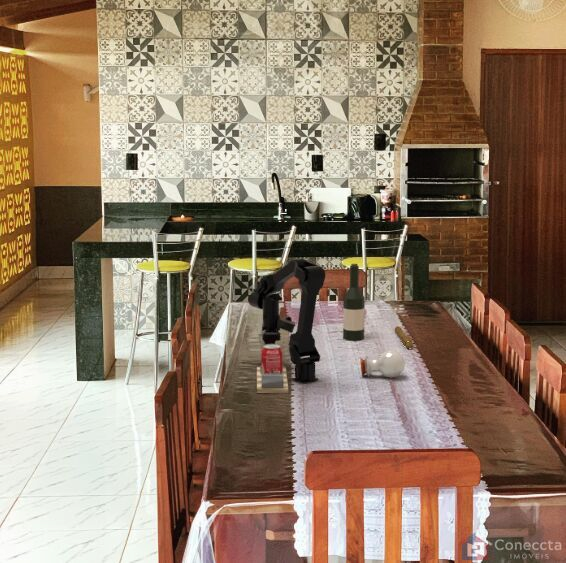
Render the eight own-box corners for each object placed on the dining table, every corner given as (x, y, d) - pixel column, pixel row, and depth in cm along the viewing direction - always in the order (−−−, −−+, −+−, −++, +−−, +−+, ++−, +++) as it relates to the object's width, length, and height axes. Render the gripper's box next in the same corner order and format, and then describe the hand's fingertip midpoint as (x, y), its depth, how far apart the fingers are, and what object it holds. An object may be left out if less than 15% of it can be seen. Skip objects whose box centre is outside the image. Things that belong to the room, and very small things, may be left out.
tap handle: (401, 325, 405) (414, 342, 376) (401, 333, 406) (413, 350, 376) (394, 325, 405) (406, 342, 375) (394, 333, 406) (405, 350, 376)
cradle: (288, 393, 318) (288, 376, 317) (257, 393, 318) (256, 377, 317) (285, 370, 346) (285, 355, 345) (256, 370, 346) (256, 355, 345)
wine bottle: (364, 341, 390) (365, 265, 385) (343, 341, 390) (344, 265, 385) (363, 336, 398) (364, 262, 393) (342, 336, 398) (343, 262, 393)
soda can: (270, 377, 332) (270, 342, 330) (287, 380, 327) (287, 345, 325) (256, 381, 326) (256, 346, 324) (273, 385, 322) (273, 349, 320)
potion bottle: (407, 382, 336) (363, 386, 338) (405, 360, 343) (361, 364, 345) (405, 365, 330) (360, 369, 332) (403, 342, 337) (359, 347, 338)
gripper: (295, 316, 338) (295, 361, 341) (292, 306, 357) (292, 348, 359) (262, 317, 338) (262, 361, 341) (261, 306, 356) (262, 348, 359)
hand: (271, 354), depth 350 cm, fingers closed
